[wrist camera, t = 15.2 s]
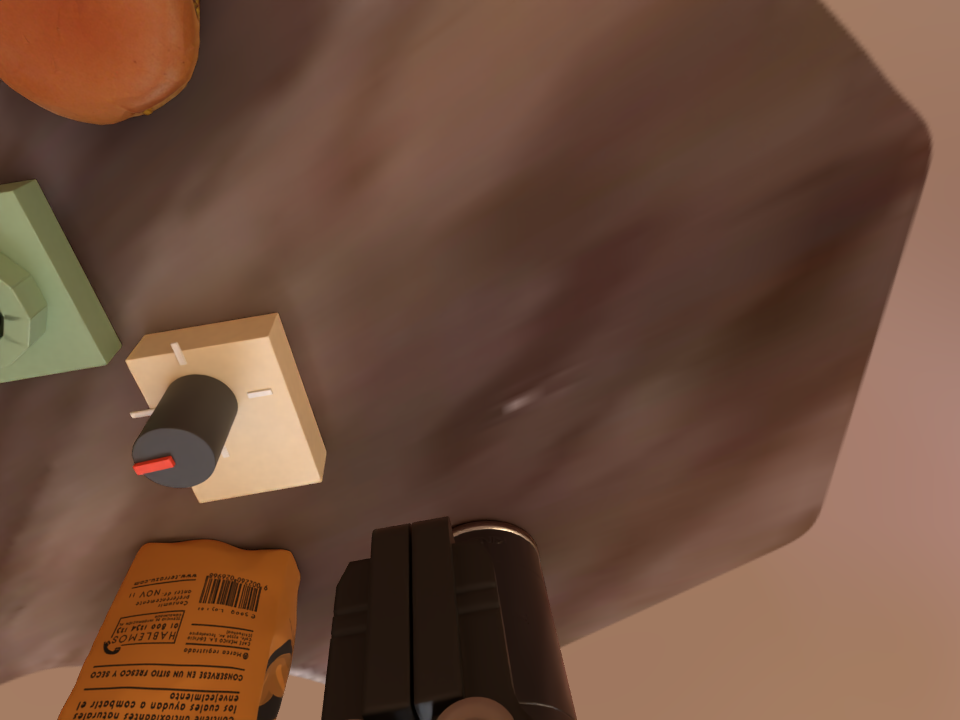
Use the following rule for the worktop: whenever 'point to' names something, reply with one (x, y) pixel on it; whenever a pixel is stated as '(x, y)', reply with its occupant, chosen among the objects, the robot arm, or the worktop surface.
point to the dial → (186, 432)
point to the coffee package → (193, 637)
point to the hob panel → (241, 401)
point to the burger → (99, 54)
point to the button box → (45, 294)
